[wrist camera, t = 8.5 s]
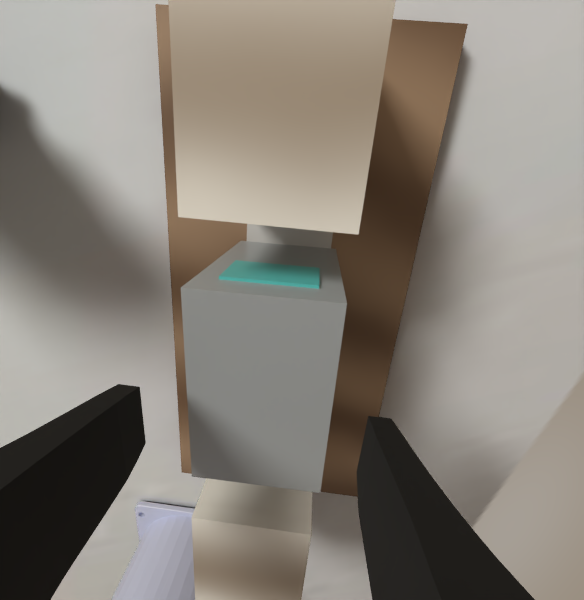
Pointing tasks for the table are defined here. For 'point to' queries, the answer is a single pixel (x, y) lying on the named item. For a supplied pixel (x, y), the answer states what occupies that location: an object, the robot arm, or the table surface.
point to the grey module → (263, 363)
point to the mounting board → (355, 252)
